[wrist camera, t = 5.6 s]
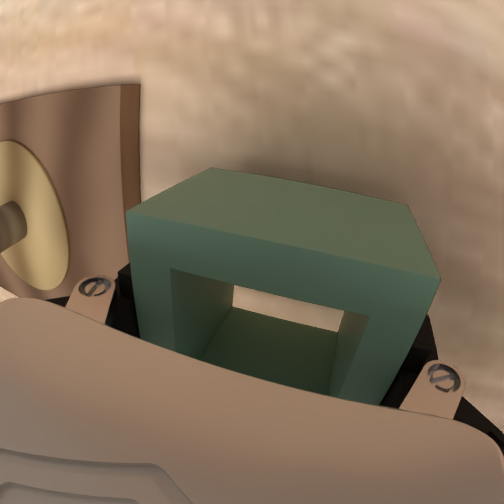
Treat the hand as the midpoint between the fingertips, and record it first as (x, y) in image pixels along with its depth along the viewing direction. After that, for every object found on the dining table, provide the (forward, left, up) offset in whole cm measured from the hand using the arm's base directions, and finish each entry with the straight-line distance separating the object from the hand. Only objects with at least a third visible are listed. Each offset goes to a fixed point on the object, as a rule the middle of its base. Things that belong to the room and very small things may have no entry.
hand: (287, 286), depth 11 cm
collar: (0, 0, -1) cm, 1 cm away
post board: (+18, +1, -4) cm, 19 cm away
